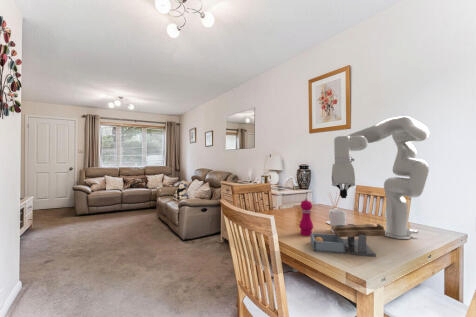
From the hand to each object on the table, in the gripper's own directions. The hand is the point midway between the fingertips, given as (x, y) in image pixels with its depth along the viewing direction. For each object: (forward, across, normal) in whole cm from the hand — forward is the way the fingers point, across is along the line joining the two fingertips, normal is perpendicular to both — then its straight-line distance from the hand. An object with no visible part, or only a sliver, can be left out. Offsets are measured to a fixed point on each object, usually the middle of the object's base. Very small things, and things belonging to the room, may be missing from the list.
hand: (343, 197), depth 113 cm
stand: (+22, -3, +7) cm, 23 cm away
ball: (+19, +14, +10) cm, 25 cm away
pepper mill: (+22, +18, -9) cm, 29 cm away
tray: (+14, -4, +6) cm, 16 cm away
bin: (+22, +10, +10) cm, 26 cm away
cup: (+22, -1, -16) cm, 28 cm away
